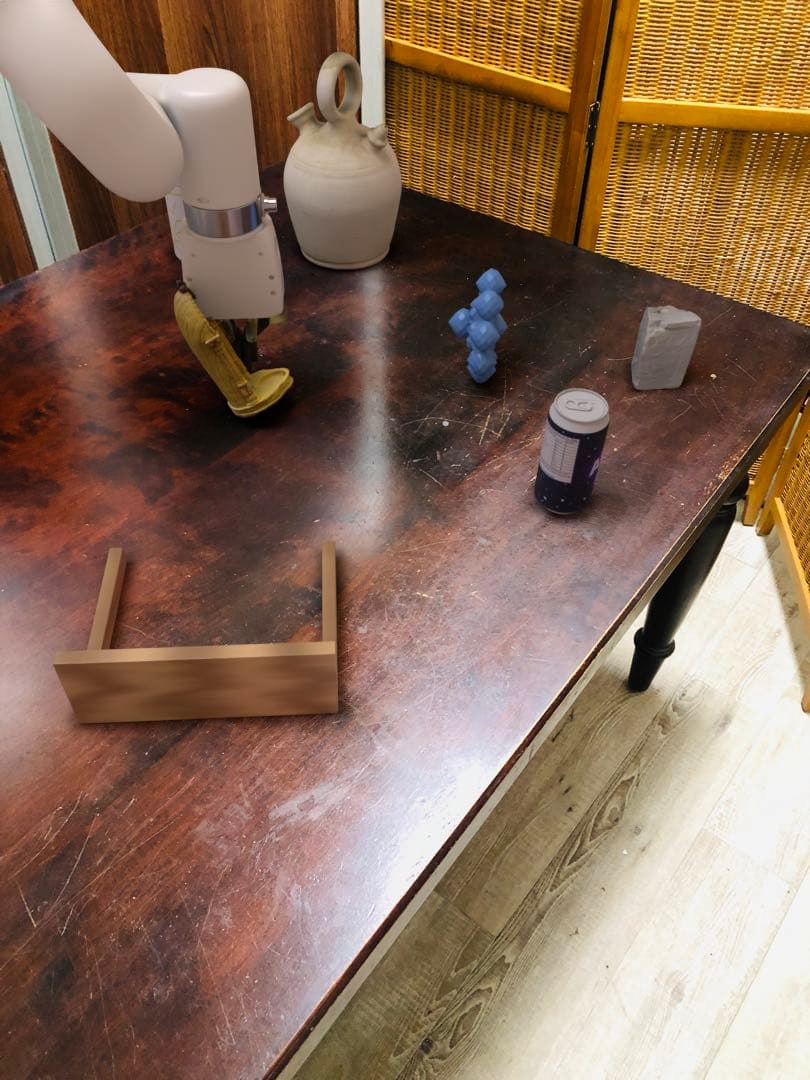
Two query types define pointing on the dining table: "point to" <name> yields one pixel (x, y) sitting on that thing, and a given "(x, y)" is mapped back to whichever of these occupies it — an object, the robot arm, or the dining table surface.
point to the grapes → (482, 325)
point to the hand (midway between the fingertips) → (245, 365)
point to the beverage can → (571, 450)
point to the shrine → (227, 360)
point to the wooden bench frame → (199, 669)
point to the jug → (341, 177)
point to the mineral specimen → (664, 347)
